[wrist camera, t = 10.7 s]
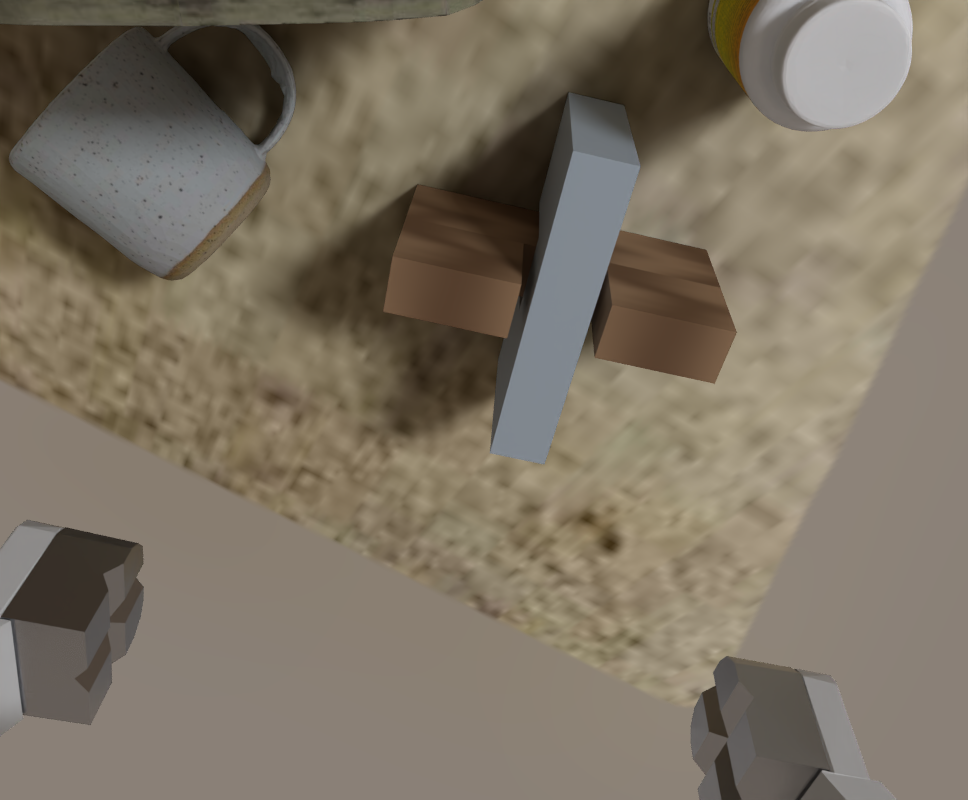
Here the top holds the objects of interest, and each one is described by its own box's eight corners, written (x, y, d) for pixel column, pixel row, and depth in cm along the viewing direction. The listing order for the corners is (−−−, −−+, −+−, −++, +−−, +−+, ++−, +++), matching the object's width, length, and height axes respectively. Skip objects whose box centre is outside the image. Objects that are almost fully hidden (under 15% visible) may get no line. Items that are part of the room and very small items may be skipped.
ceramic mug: (202, 250, 43) (145, 323, 37) (60, 125, 40) (-29, 181, 34) (347, 104, 39) (312, 159, 33) (202, -48, 36) (131, -21, 30)
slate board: (568, 92, 38) (573, 150, 32) (623, 105, 38) (640, 166, 32) (497, 360, 46) (489, 453, 39) (544, 370, 46) (544, 464, 39)
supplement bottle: (710, 89, 38) (757, 169, 29) (700, -53, 35) (749, -10, 26) (845, 62, 37) (935, 137, 28) (847, -86, 34) (947, -52, 25)
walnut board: (408, 233, 42) (383, 311, 36) (417, 184, 41) (392, 256, 34) (688, 295, 43) (714, 383, 37) (706, 250, 42) (736, 332, 35)
